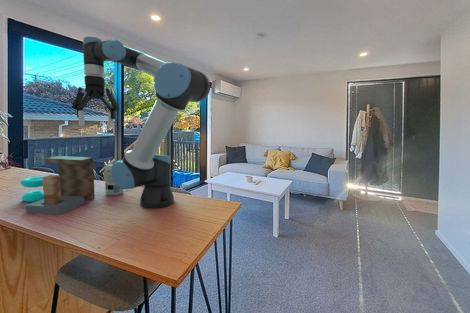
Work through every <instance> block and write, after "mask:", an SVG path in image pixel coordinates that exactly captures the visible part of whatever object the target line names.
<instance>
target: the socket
mask: <svg viewBox="0 0 470 313" xmlns="http://www.w3.org/2000/svg"><path fill="white" fill-rule="evenodd" d="M84 204H85V200H84V197H77V196H61V202H60V203H58V204H55V205H44V199H42V200H39V201H36V202H30V203H28V204H25V213H27V214H28V213H29V214H39V215H40V214H43V215H52V216H53V215H56V216H60V215H62V214H64V213H67V212H69V211H70V210H74V209H75V208H77V207H80V206H82V205H84Z"/></svg>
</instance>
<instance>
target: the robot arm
mask: <svg viewBox="0 0 470 313" xmlns="http://www.w3.org/2000/svg"><path fill="white" fill-rule="evenodd" d="M82 54H83V74H84V75H85V76H84V85H85V87H81V86H80V87H78V89H77V93H76V96H75V99H74V100H73V103H72V104H71V105H72V106H71V109H74V110H76V117H77V118H78V126H80V127H81V126H83V127H84V126H85V125H86V124H85V110H84V109H85V107H86V106H87V104H89V102H90V101H91V100H93V99H94V100H96V99H97V100H100V101H101V102H102V103H103V104H104V106H106V108H107V109H108V110H109V111H108V112H107V116H108V117H107V118H108V119H107V120H108V121H107V122H108V123H107V124H108V128H114V127H115V124H114V123H115V122H114V120H115V119H116V112H119V111H120V107H119V105H118V102H117V101H116V99H115V97H114V94H113V89H111V88H108V87H106V88H105V86H106V82H105V81H106V80H105V62H113V63H117V64H119V65H124V66H128V67H131V68H134V69H135V70H138V71H141V72H143V73H145V74H147V75H149V76H151V77H153V82H154V83H153V87H154V90H155V92H154V97H155V99H156V100H155V102H154V105H153V107H152V109H151V110H150V113H149V114H148V116H147V119H146V121H145V123H144V124H143V127H142V129H141V131H140V132H139V134H138V136H137V139H136V141H135V143H134V145H133V147H132V148H131V149H130V150H127V151H126V152H125V153H124V156H123V157H122V159H121V160H117V161H114V163H112V164H113V165H112V168H111V174H112V178H113V180H114V182H115V184H116V185H117V186H118V187H119V188H121V189H123V191H124V190H125V191H126V190H132V189H134V188H135V189H136V188H138V187H142V186H143V190H142V193H141V195H140V200H139V204H140V206H141V207H144V208H147V209H148V208H149V209H160V208H166V207H169V206H172V205H173V204H174V203H175V197H174V193H173V190H172V187H171V165H172V163H171V157H170V155H167V154H158V153H157V152H158V150H159V149H160V147H161V145H162V143H163V141H164V140H165V138H166V136H167V134H168V132H169V131H170V128H172V125H173V123H174V121H175V119H176V118H177V116H178V113H179V112H183V111H185V110H186V108H187V107H188V104H189V102H192V103H198V102H201V101H203V100H205V99H207V97H208V95H209V94H210V91H211V82H210V80H209V78H208V76H207V75H206V74H205V73H203V72H202V71H199V70H198V69H197V70H196V69H194V68H193V67H192V68H191V67H189V66H187V65H185V64H183V63H179V62H173V61H169V62H165V61H163V60H160V59H158V58H156V57H153V56H151V55H148V54H146V53H145V52H143V51H139V50H136V49H133V48H130V47H128V46H125V45H124V43H122V41H120V40H118V39H107V40H102V39H101V38H98V37H95V36H84V37H83V40H82ZM105 94H106V95H107V97H106V95H105ZM107 98H108V99H107Z"/></svg>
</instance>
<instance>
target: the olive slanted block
mask: <svg viewBox="0 0 470 313" xmlns="http://www.w3.org/2000/svg"><path fill="white" fill-rule="evenodd" d="M45 163H46V164H57V173H58V176H60V187H61V196H77V197H84V201H85V200H88V201H93V200H94V199H95V197H96V196H95V175H94V174H95V172H94V157H91V156H87V157H86V156H76V155H75V156H72V155H71V156H68V155H57V156H52V157H50V156H49V157H45Z"/></svg>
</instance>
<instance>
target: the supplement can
mask: <svg viewBox="0 0 470 313" xmlns="http://www.w3.org/2000/svg"><path fill="white" fill-rule="evenodd" d="M112 165H113V163H109V164H106V165H105V167H104V176H105V178H104V180H105V181H104V182H105V183H104V184H105V185H104V186H105V194H106V195H108V196H119V195H121V194H123V192H124V189H121V188H119V187H118V186H117V185H116V184H115V182H114V180H113V178H112V174H111V168H112Z"/></svg>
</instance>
